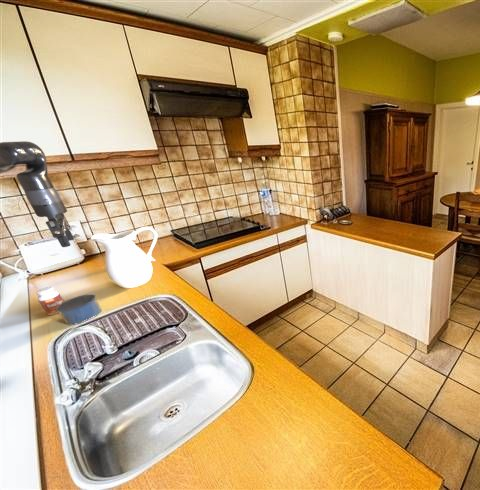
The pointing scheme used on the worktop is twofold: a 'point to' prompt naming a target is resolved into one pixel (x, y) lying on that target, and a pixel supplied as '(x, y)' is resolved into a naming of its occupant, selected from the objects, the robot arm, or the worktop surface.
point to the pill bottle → (49, 300)
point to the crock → (79, 309)
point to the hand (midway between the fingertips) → (68, 243)
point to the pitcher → (126, 258)
